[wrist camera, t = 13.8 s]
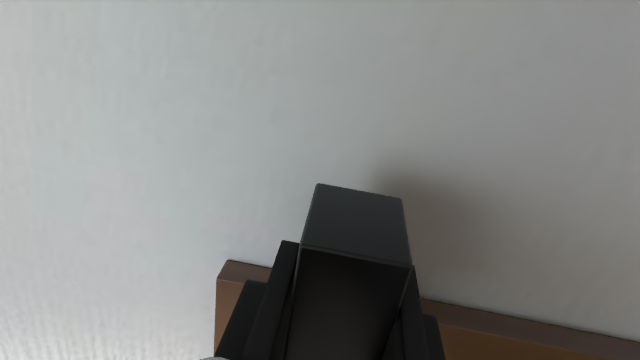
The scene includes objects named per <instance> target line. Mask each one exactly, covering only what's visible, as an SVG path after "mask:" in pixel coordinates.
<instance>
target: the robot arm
mask: <svg viewBox="0 0 640 360" xmlns="http://www.w3.org/2000/svg"><path fill="white" fill-rule="evenodd" d="M299 245H300V243H296V242H291V241H285V240H282V242H281V245H280V248H279V250H278V253H277V256H276V259H275V262H274V265H273V268H272V270H271V273H270V276H269V279H268V282H267V283H266V282H261V281H256V280H250V279H247V280H246V282H245V284H244V286H243V289H242V291H241V293H240V296H239V298H238V300H237V303H236V305H235V307H234V310H233V312H232V314H231V317H230V319H229V321H228V324H227V326H226V329H225V331H224V333H223V336H222V338H221V340H220V343H219V345H218V347H217V350H216V352H215V354H214V357H209V358H204V359H200V360H284V356H285V349H286V343H287V336H288V330H289V324H290V317H291V311H292V306H291V297H292V290H293V284H294V277H295V270H296V264H297V257H298V250H299ZM412 266H413V268H412V271H411V274H410V277H409V280H408V283H407V287H406V290H405V293H404V296H403V299H402V302H401V305H400V308H399V311H398V314H397V317H396V321H395V324H394V326H392V329H391V332H390V335H389V338H388V341H387V345H386V348H385V351H384V354H383V357H382V360H446V359H445V354H444V349H443V344H442V340H441V335H440V330H439V325H438V321H437V318H436V317H435V315H430V314H425V313H422V309H421V303H420V297H419V291H418V285H417V279H416V273H415V267H414V265H412Z"/></svg>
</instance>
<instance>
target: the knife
mask: <svg viewBox="0 0 640 360" xmlns="http://www.w3.org/2000/svg"><path fill="white" fill-rule="evenodd" d="M412 268H413V266H412V260H411V254H410V247H409V241H408V235H407V229H406V223H405V217H404V211H403V205H402V199H400V198H397V197H391V196H386V195H380V194H375V193H369V192H364V191H359V190H353V189H348V188H342V187H337V186H331V185H326V184H320V183H318V184H317V185H316V187H315V190H314V194H313V197H312V201H311V205H310V208H309V212H308V216H307V219H306V223H305V226H304V230H303V234H302V237H301V241H300V245H299V250H298V257H297V264H296V270H295V277H294V284H293V290H292V297H291V306H292V311H291V317H290V324H289V330H288V336H287V343H286V349H285V356H284V360H382V357H383V354H384V351H385V348H386V345H387V341H388V338H389V335H390V332H391V329H392V326H394V324H395V321H396V317H397V314H398V311H399V308H400V305H401V302H402V299H403V296H404V293H405V290H406V287H407V283H408V280H409V277H410V274H411V271H412Z"/></svg>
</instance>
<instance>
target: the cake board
mask: <svg viewBox="0 0 640 360" xmlns="http://www.w3.org/2000/svg"><path fill="white" fill-rule="evenodd" d="M271 270H272V269H270V268H265V267H260V266H255V265H250V264H245V263H240V262H235V261H230V260H227V261H226V262H225V264H224V266H223V268H222V270H221V271H220V273H219V275H218V277H217V282H216V309H215V336H214V354H215V352H216V350H217V347H218V345H219V343H220V340H221V338H222V336H223V333H224V331H225V329H226V326H227V324H228V321H229V319H230V317H231V314H232V312H233V310H234V307H235V305H236V303H237V300H238V298H239V296H240V293H241V291H242V289H243V286H244V284H245V282H246V280H247V279H250V280H256V281H261V282H266V283H267V282H268V279H269V276H270V273H271ZM420 303H421V309H422V313H425V314H430V315H435V317H436V318H437V321H438V325H439V330H440V335H441V340H442V344H443V349H444V354H445V359H446V360H640V343H639V342H634V341H629V340H624V339H619V338H614V337H609V336H604V335H599V334H594V333H589V332H584V331H579V330H574V329H569V328H564V327H559V326H554V325H549V324H544V323H539V322H534V321H529V320H524V319H519V318H514V317H509V316H504V315H499V314H494V313H489V312H484V311H479V310H474V309H469V308H464V307H459V306H454V305H449V304H444V303H439V302H434V301H429V300H424V299H420Z"/></svg>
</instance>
